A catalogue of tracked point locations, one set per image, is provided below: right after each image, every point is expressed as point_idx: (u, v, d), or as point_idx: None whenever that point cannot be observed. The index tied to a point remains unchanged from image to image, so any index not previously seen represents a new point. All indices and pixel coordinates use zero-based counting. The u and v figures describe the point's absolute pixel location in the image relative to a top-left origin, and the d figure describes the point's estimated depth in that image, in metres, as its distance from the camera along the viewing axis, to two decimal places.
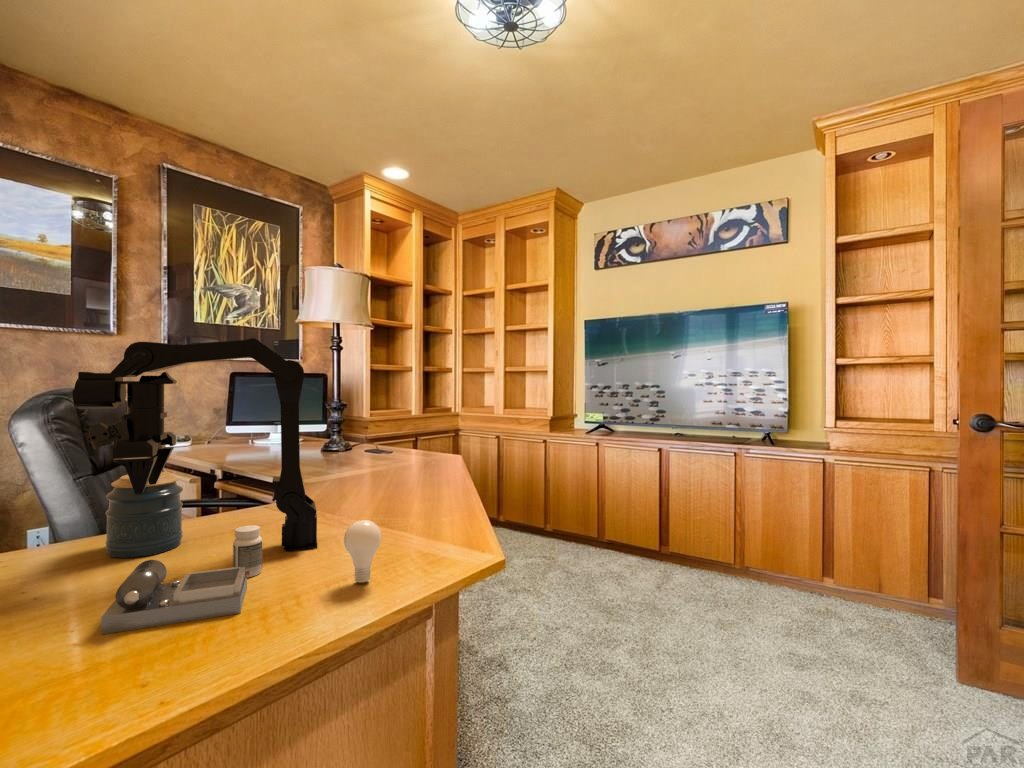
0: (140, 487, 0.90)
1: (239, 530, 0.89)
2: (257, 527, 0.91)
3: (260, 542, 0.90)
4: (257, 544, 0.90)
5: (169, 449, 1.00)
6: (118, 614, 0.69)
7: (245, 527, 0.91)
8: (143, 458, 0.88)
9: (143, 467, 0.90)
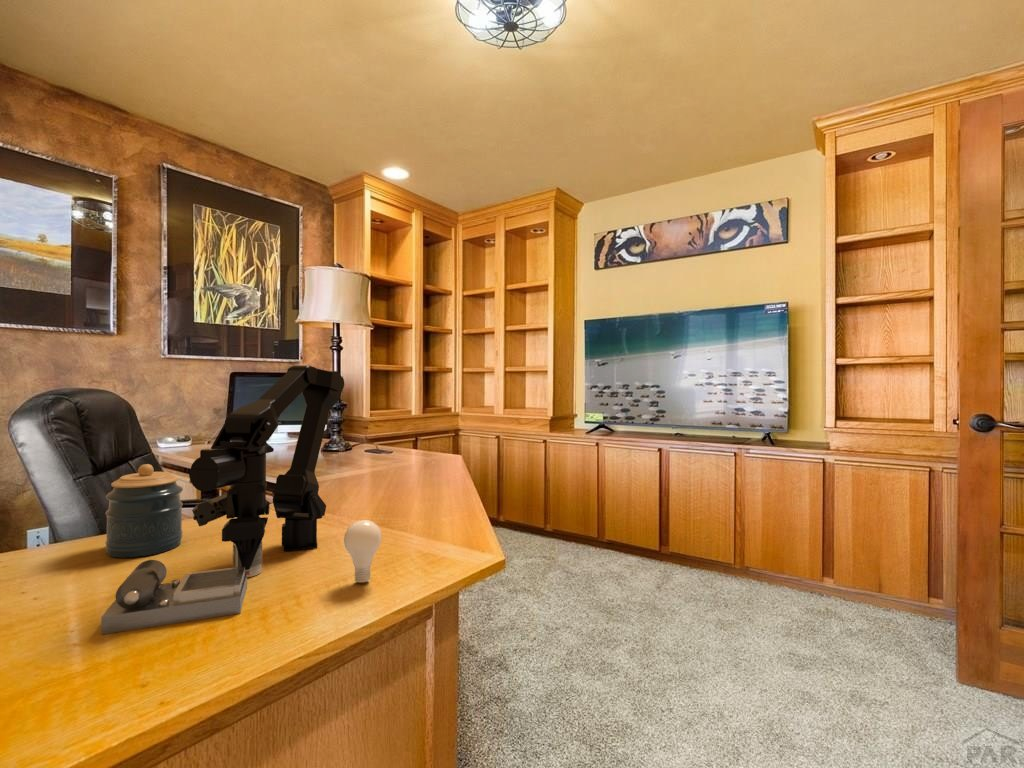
0: (248, 563, 0.88)
1: None
2: None
3: None
4: None
5: (265, 521, 0.94)
6: (118, 614, 0.69)
7: None
8: None
9: (252, 543, 0.87)
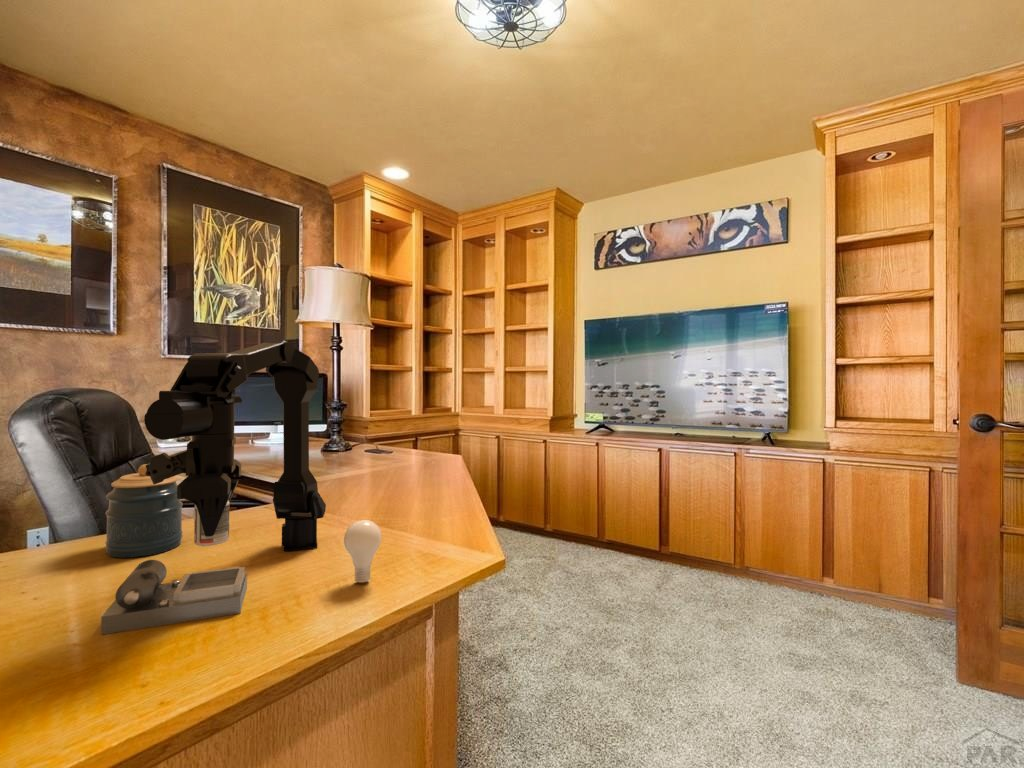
0: (212, 528, 0.75)
1: None
2: None
3: (227, 505, 0.78)
4: None
5: (234, 483, 0.82)
6: (118, 614, 0.69)
7: None
8: None
9: (215, 505, 0.75)
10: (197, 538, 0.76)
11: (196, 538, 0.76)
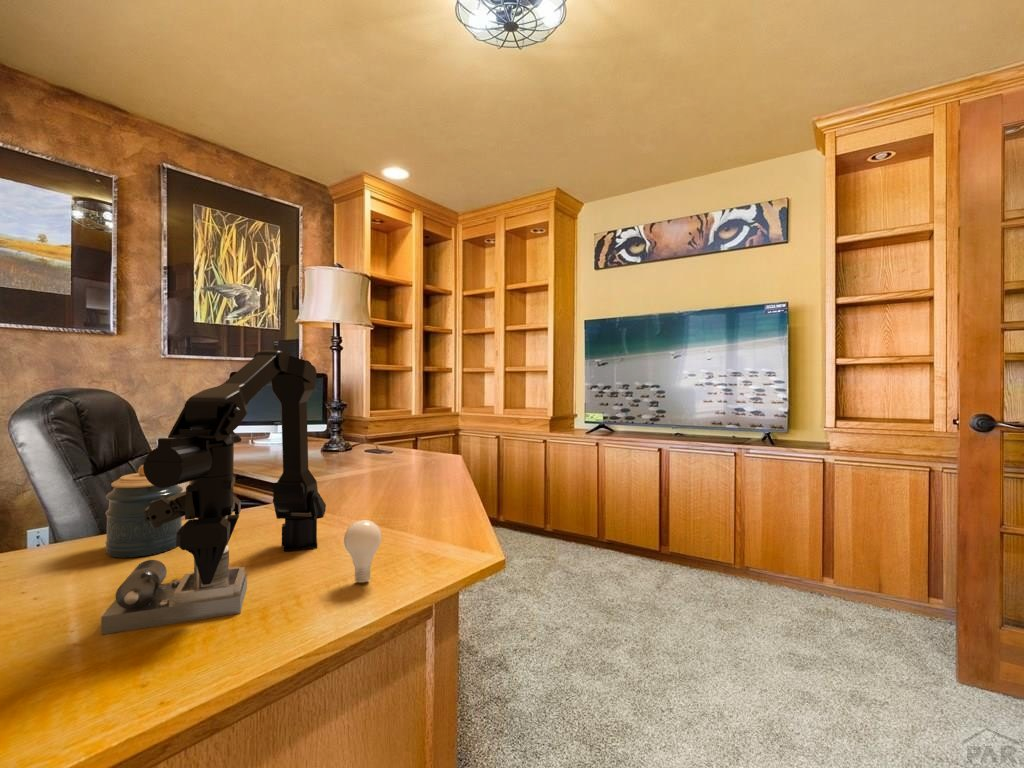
0: (209, 576, 0.73)
1: None
2: None
3: (226, 552, 0.78)
4: None
5: (235, 519, 0.84)
6: (118, 614, 0.69)
7: None
8: (215, 543, 0.71)
9: (213, 552, 0.73)
10: (197, 586, 0.76)
11: (196, 586, 0.76)
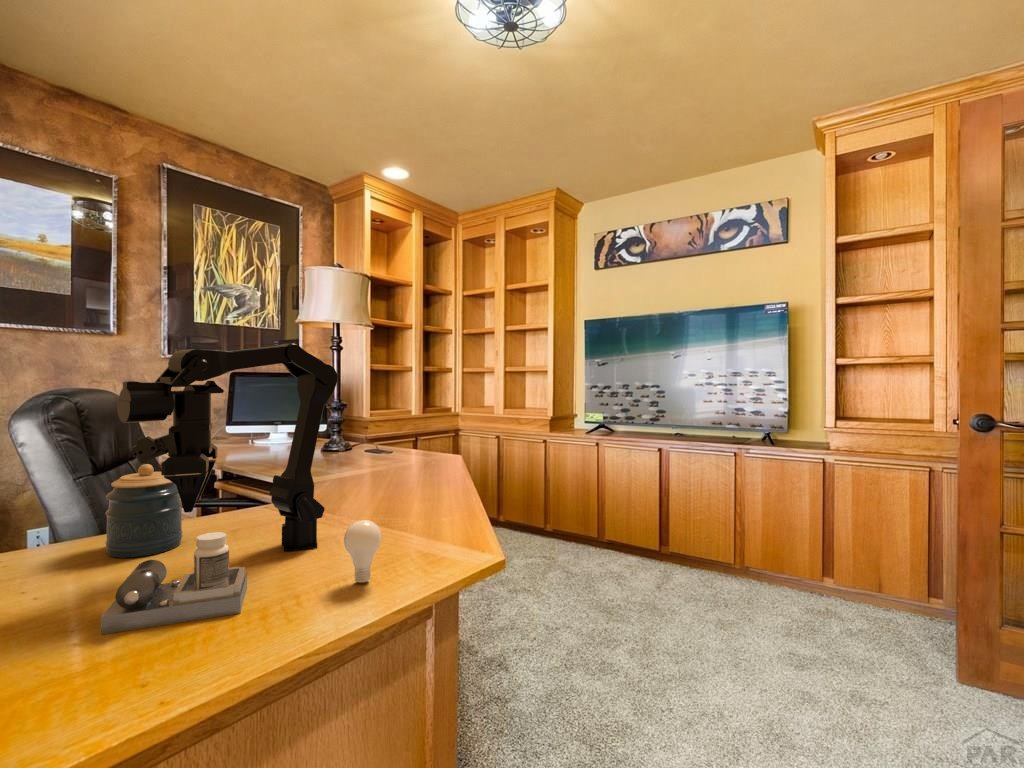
0: (190, 505, 0.84)
1: (201, 538, 0.77)
2: (223, 534, 0.78)
3: (226, 552, 0.78)
4: (222, 554, 0.77)
5: (213, 462, 0.94)
6: (118, 614, 0.69)
7: (209, 534, 0.78)
8: (196, 474, 0.82)
9: (193, 484, 0.84)
10: (197, 586, 0.76)
11: (196, 586, 0.76)
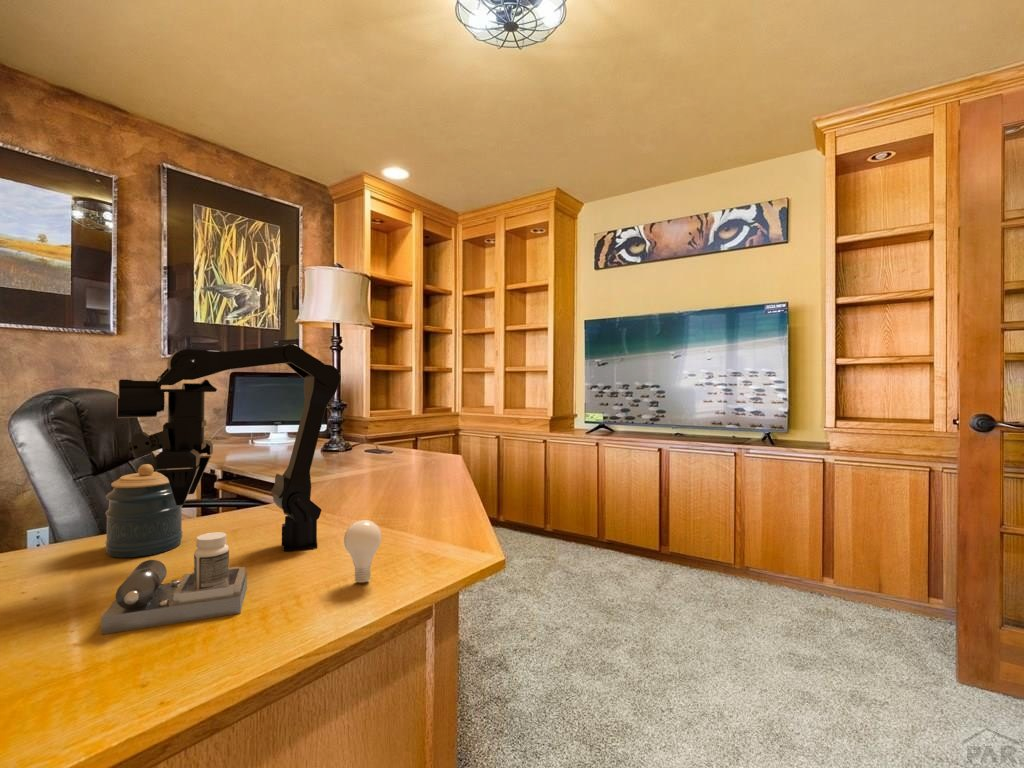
0: (182, 498, 0.88)
1: (201, 538, 0.77)
2: (223, 534, 0.78)
3: (226, 552, 0.78)
4: (222, 554, 0.77)
5: (207, 458, 0.98)
6: (118, 614, 0.69)
7: (209, 534, 0.78)
8: (186, 468, 0.86)
9: (185, 478, 0.87)
10: (197, 586, 0.76)
11: (196, 586, 0.76)
